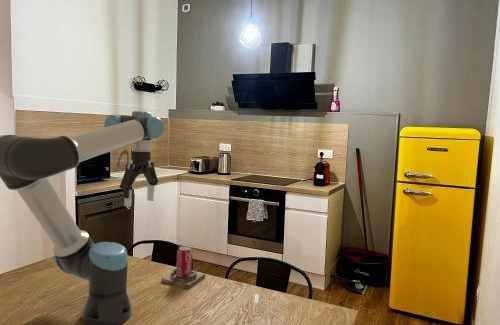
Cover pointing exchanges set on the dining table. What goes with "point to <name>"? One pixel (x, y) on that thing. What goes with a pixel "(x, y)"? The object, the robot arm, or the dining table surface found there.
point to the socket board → (183, 279)
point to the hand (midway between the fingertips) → (139, 203)
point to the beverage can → (184, 261)
